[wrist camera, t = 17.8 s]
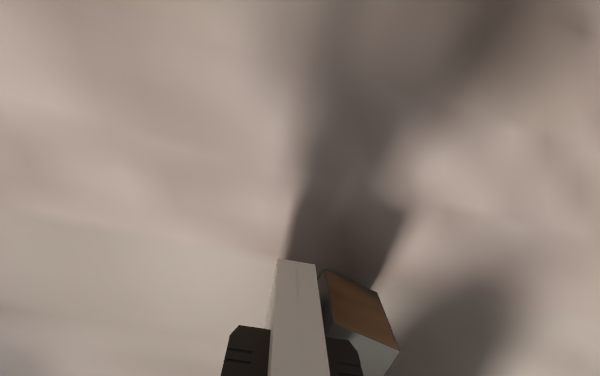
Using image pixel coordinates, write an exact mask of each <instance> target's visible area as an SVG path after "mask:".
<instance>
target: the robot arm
mask: <svg viewBox="0 0 600 376" xmlns="http://www.w3.org/2000/svg"><path fill="white" fill-rule="evenodd" d="M221 376H364V375H363V371H362V368H361V363H360V359H359V355H358V352H357V350H356V349H355V348H354V346H353V345H352V344H351V342H350V341H349V340H345V339H338V338H331V337H325V334H324V327H323V319H322V312H321V304H320V297H319V290H318V282H317V275H316V267H315V264H309V263H303V262H297V261H291V260H284V259H278V260H277V265H276V271H275V276H274V281H273V286H272V291H271V297H270V302H269V307H268V312H267V318H266V327H265V329H262V328H255V327H248V326H241V325H239V326H238V327H237V328H236V329H235V330H234V331H233V332H232V333H231V335H230V337H229V342H228V346H227V351H226V355H225V360H224V364H223V368H222V373H221Z"/></svg>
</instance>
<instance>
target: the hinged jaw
mask: <svg viewBox="0 0 600 376" xmlns="http://www.w3.org/2000/svg"><path fill="white" fill-rule="evenodd" d="M318 290H319V297H320V304H321V312H322V319H323V327H324V334H325V337H331V338H338V339H345V340H349V341H350V342H351V344H352V345H353V346H354V348H355V349H356V350H357V352H358V355H359V359H360V363H361V368H362V371H363V375H364V376H384V374H385V373H386V371H387V370H388V368H389V367H390V365H391V364H392V362H393V361H394V359H395V358H396V357H397V355H398V354H399V352H400V350H399V347H398V345H397V342H396V340H395V337H394V335H393V332H392V329H391V327H390V324H389V322H388V319H387V317H386V314H385V312H384V309H383V306H382V304H381V301H380V299H379V296H378V294H377V292H375V291H373V290H370V289H368V288H366V287H363V286H361V285H359V284H357V283H354V282H352V281H350V280H348V279H345V278H343V277H341V276H339V275H336V274H334V273H332V272H330V271H327V270H325V269H324V271H323V273H322V275H321V276H320V278H319V280H318Z"/></svg>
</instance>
